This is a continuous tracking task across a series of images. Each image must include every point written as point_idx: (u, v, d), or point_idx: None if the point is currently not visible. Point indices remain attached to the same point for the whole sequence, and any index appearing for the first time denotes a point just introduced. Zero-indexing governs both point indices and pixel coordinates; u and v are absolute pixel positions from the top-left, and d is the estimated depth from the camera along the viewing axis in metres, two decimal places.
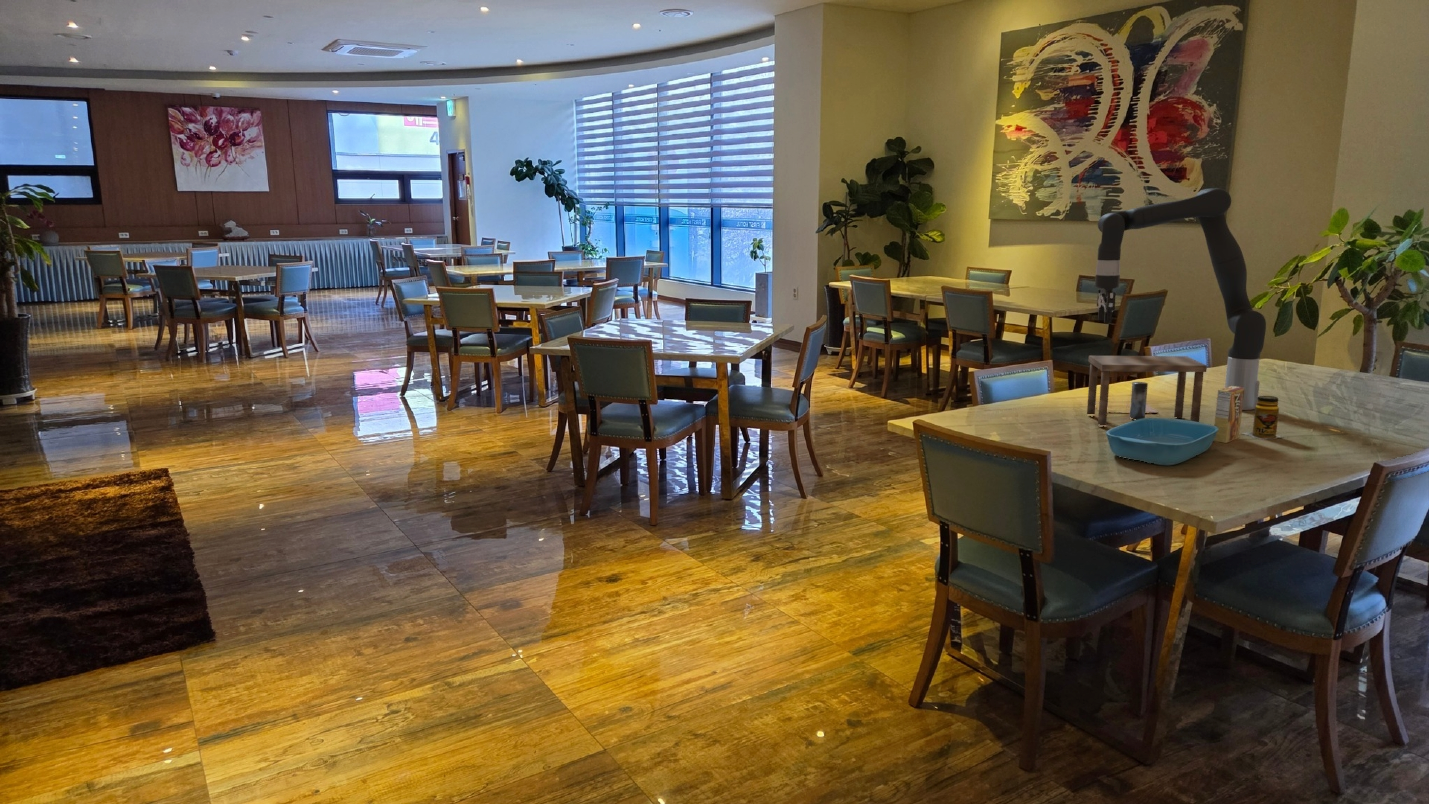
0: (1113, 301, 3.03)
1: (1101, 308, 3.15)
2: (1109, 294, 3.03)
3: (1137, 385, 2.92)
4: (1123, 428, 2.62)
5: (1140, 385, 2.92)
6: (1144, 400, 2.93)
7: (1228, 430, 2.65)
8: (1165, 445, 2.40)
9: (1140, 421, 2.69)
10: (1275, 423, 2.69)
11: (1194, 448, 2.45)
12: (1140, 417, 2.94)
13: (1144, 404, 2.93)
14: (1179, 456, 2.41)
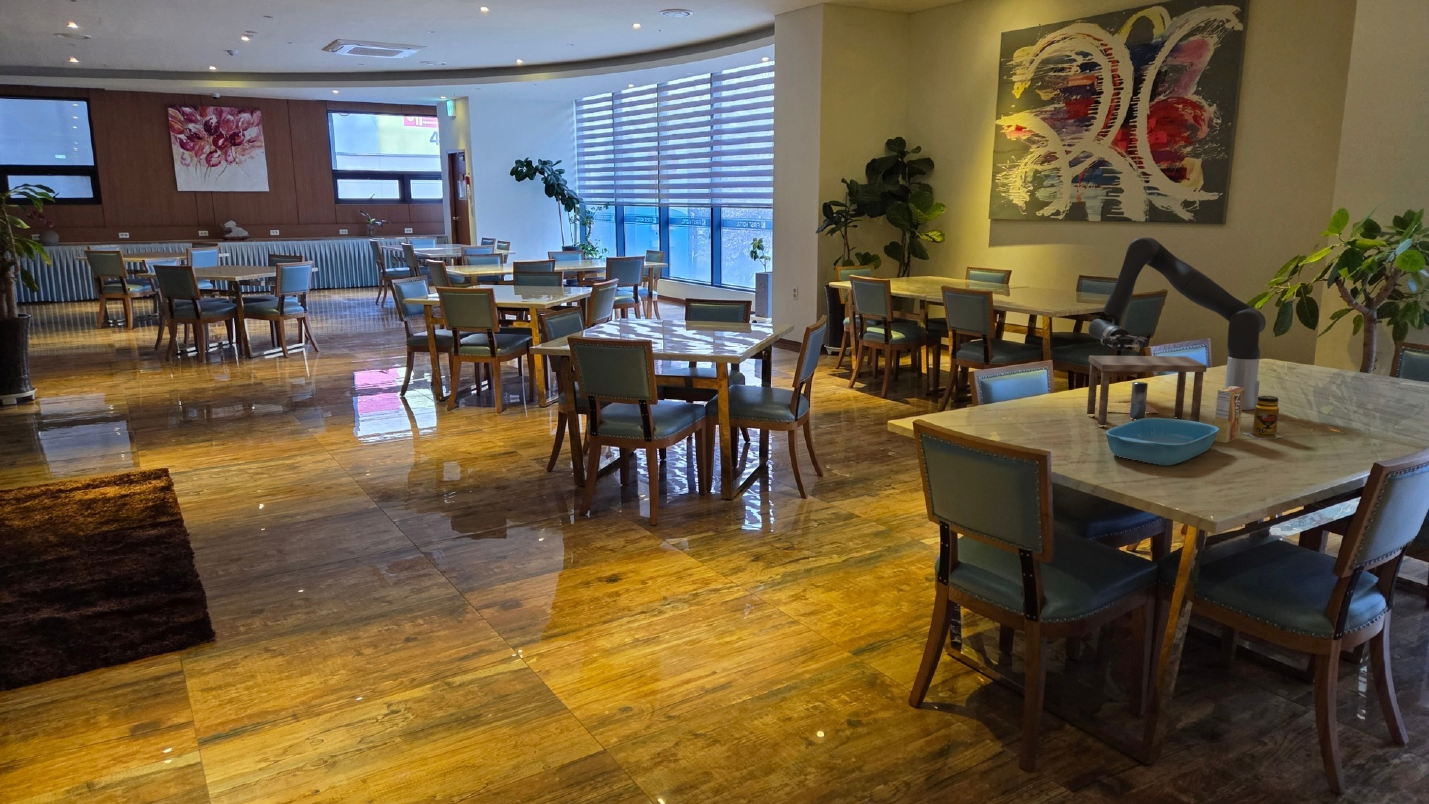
0: (1102, 338, 3.14)
1: (1139, 343, 3.09)
2: (1101, 341, 3.16)
3: (1137, 385, 2.92)
4: (1123, 428, 2.62)
5: (1140, 385, 2.92)
6: (1144, 400, 2.93)
7: (1228, 430, 2.65)
8: (1164, 445, 2.40)
9: (1141, 421, 2.69)
10: (1275, 423, 2.69)
11: (1193, 448, 2.45)
12: (1140, 417, 2.94)
13: (1144, 404, 2.93)
14: (1178, 456, 2.41)
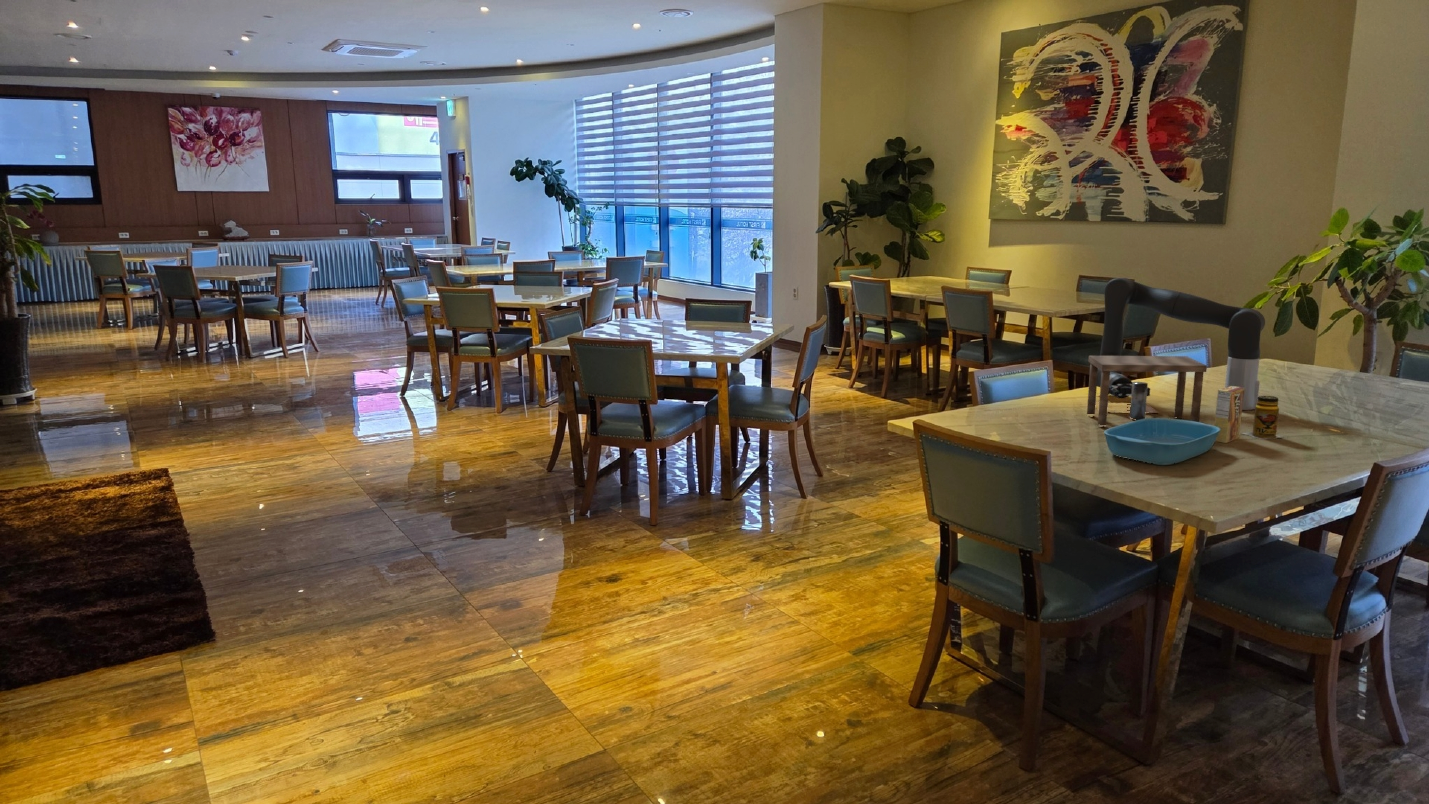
0: None
1: None
2: None
3: (1137, 385, 2.92)
4: (1123, 428, 2.62)
5: (1140, 385, 2.92)
6: (1144, 400, 2.93)
7: (1228, 430, 2.65)
8: (1160, 445, 2.40)
9: (1143, 421, 2.69)
10: (1275, 423, 2.69)
11: (1191, 448, 2.45)
12: (1140, 417, 2.94)
13: (1144, 404, 2.93)
14: (1175, 456, 2.42)
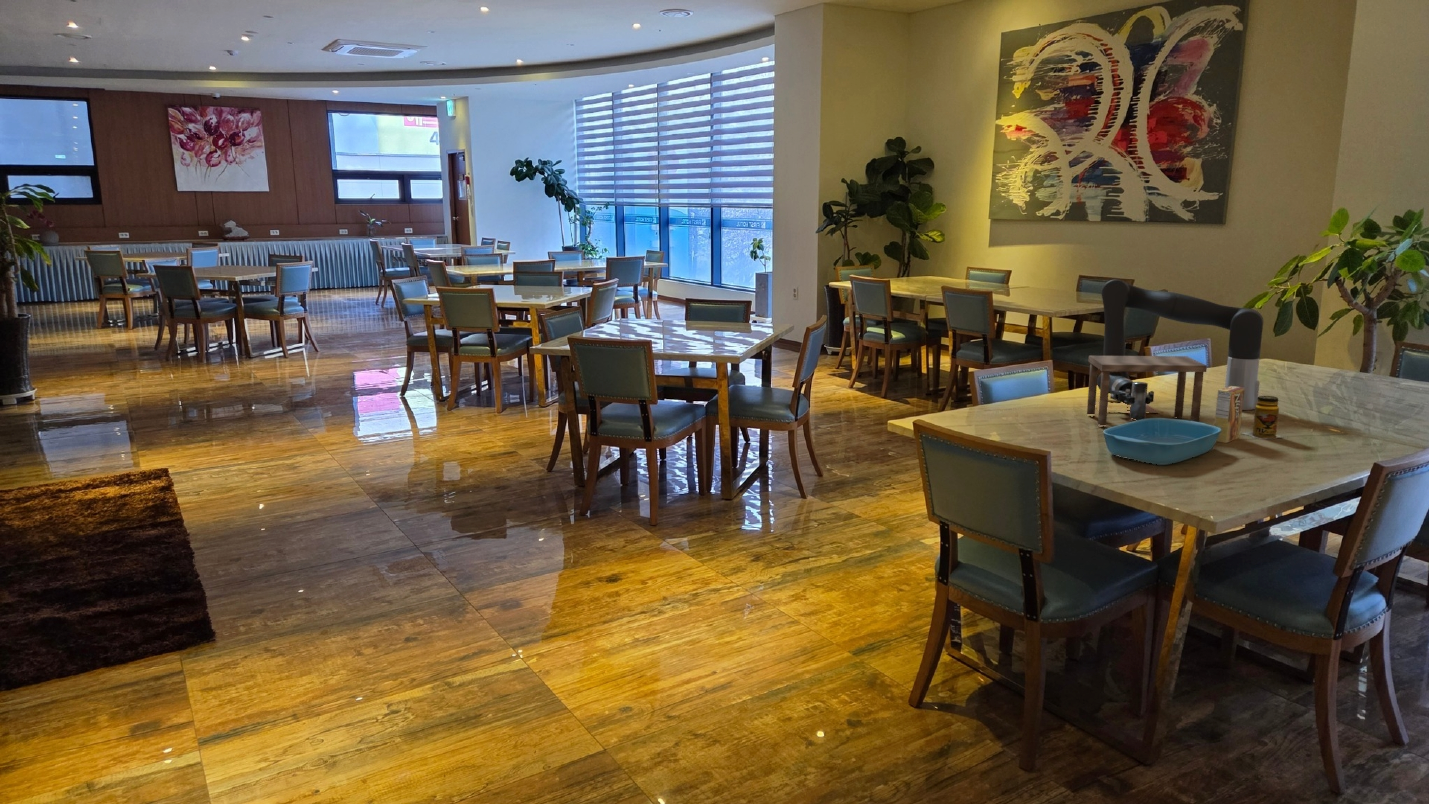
0: (1114, 394, 3.01)
1: None
2: (1110, 396, 3.04)
3: (1137, 385, 2.92)
4: (1124, 427, 2.63)
5: (1140, 385, 2.92)
6: (1144, 400, 2.93)
7: (1228, 430, 2.65)
8: (1157, 444, 2.41)
9: (1145, 421, 2.69)
10: (1275, 423, 2.69)
11: (1190, 448, 2.45)
12: (1141, 417, 2.94)
13: (1144, 404, 2.93)
14: (1172, 456, 2.42)
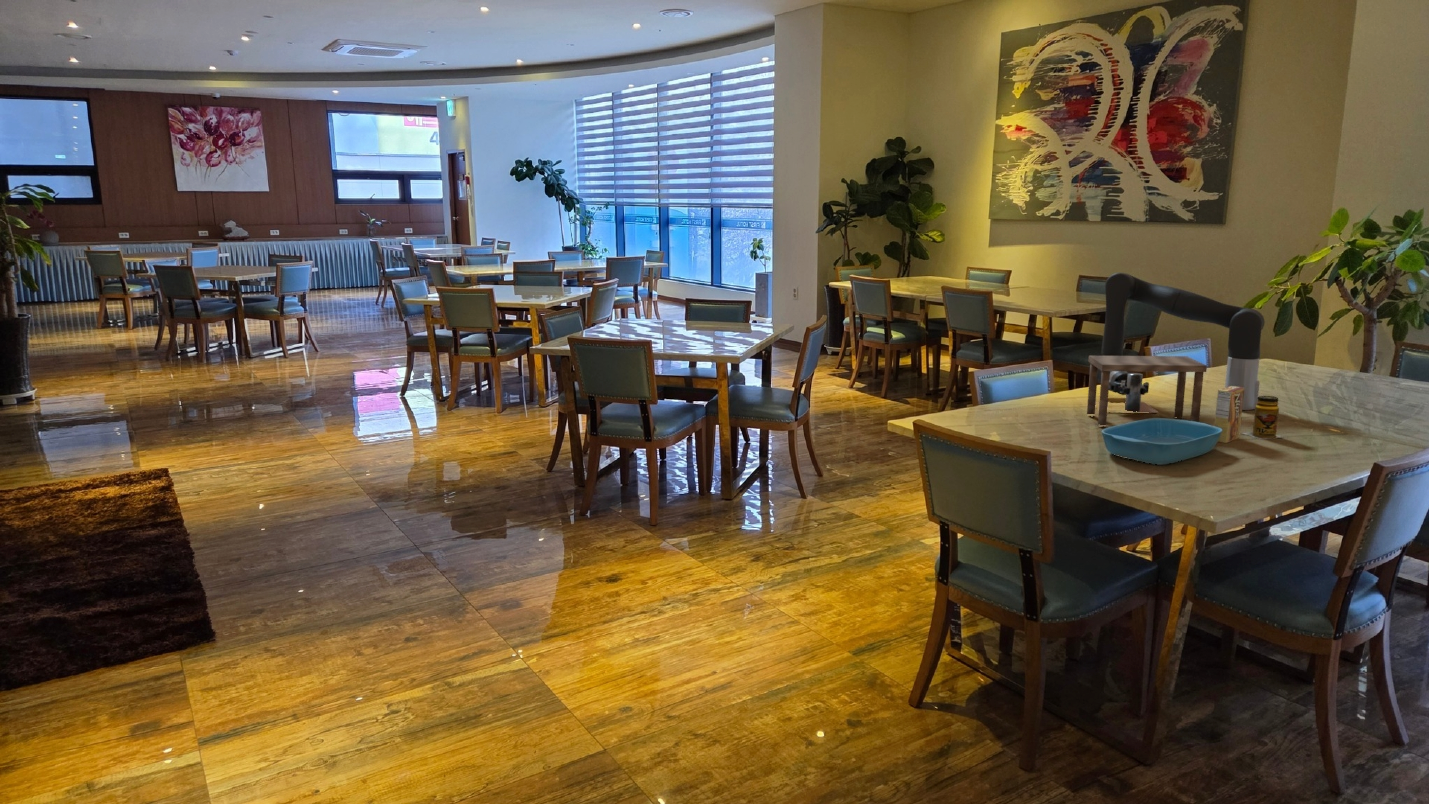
0: (1110, 385, 3.07)
1: None
2: None
3: (1132, 376, 2.98)
4: (1124, 427, 2.63)
5: (1135, 376, 2.97)
6: (1139, 391, 2.98)
7: (1228, 430, 2.65)
8: (1154, 444, 2.41)
9: (1147, 421, 2.69)
10: (1275, 423, 2.69)
11: (1188, 449, 2.45)
12: (1136, 407, 2.99)
13: (1139, 395, 2.99)
14: (1169, 456, 2.42)
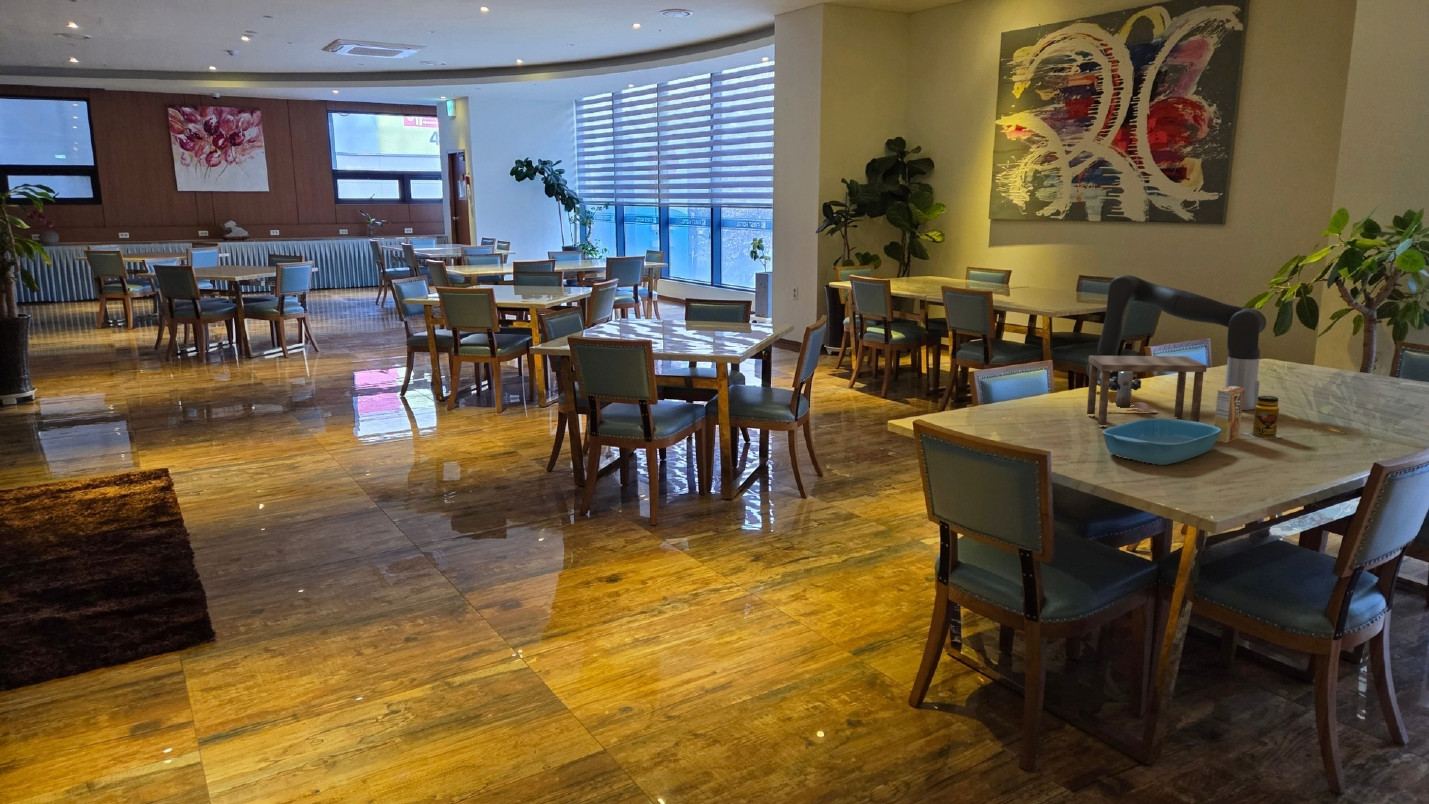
0: (1100, 381, 3.18)
1: (1132, 386, 3.13)
2: None
3: (1123, 374, 3.09)
4: (1124, 427, 2.63)
5: (1126, 374, 3.08)
6: (1129, 388, 3.09)
7: (1228, 430, 2.65)
8: (1157, 444, 2.41)
9: (1144, 421, 2.69)
10: (1275, 423, 2.69)
11: (1189, 448, 2.45)
12: (1126, 404, 3.10)
13: (1129, 392, 3.10)
14: (1172, 456, 2.42)
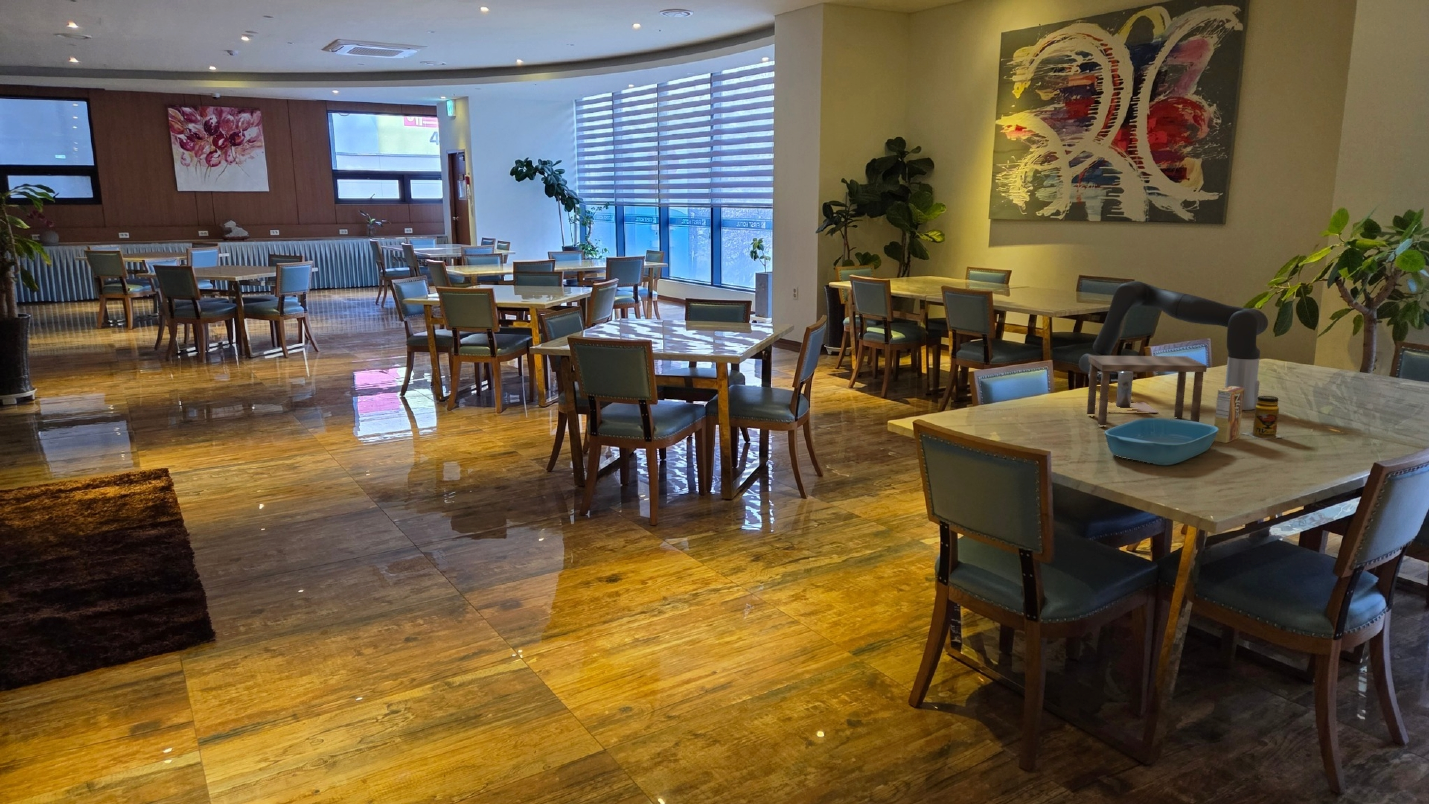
0: (1089, 373, 3.31)
1: None
2: None
3: (1123, 374, 3.09)
4: (1123, 428, 2.62)
5: (1126, 374, 3.08)
6: (1130, 388, 3.09)
7: (1228, 430, 2.65)
8: (1162, 445, 2.40)
9: (1141, 421, 2.69)
10: (1275, 423, 2.69)
11: (1192, 448, 2.45)
12: (1126, 404, 3.10)
13: (1130, 392, 3.10)
14: (1177, 456, 2.41)
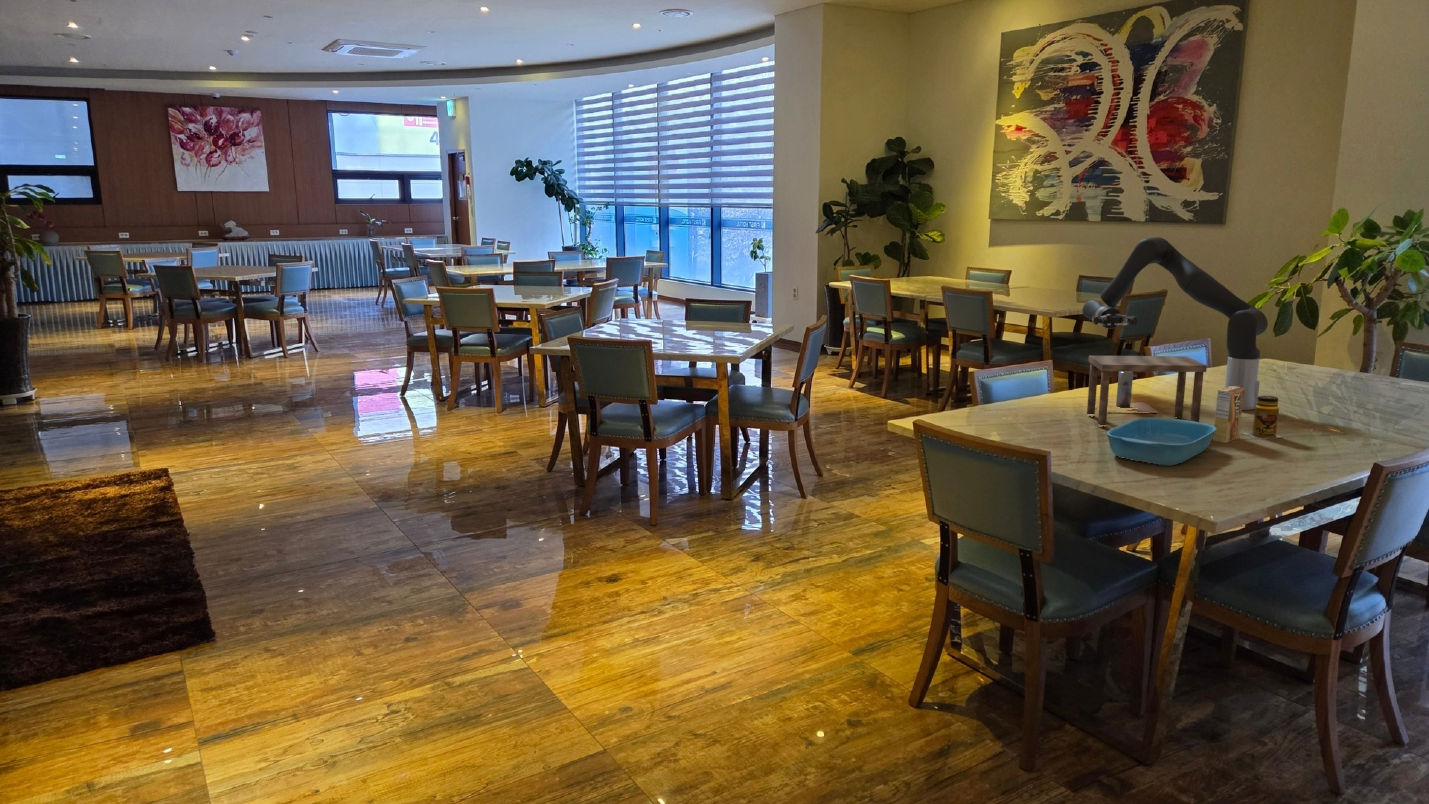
0: (1093, 317, 3.27)
1: None
2: (1092, 321, 3.29)
3: (1123, 374, 3.09)
4: (1122, 428, 2.62)
5: (1126, 374, 3.08)
6: (1130, 388, 3.09)
7: (1228, 430, 2.65)
8: (1167, 445, 2.40)
9: (1137, 421, 2.69)
10: (1275, 423, 2.69)
11: (1195, 448, 2.45)
12: (1126, 404, 3.10)
13: (1130, 392, 3.10)
14: (1181, 456, 2.41)
